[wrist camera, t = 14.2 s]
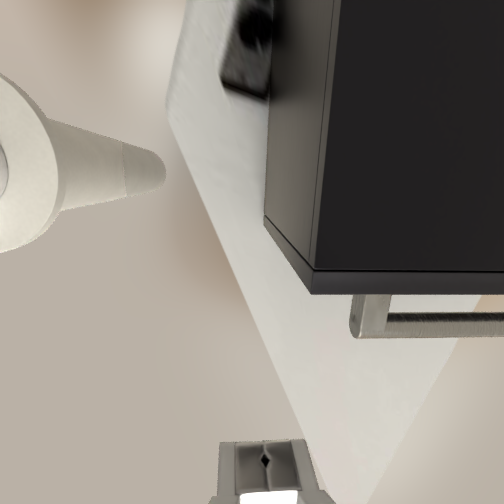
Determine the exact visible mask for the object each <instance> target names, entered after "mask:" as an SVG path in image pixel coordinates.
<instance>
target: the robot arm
mask: <svg viewBox="0 0 504 504" xmlns="http://www.w3.org/2000/svg"><path fill="white" fill-rule="evenodd" d="M7 180H8V166H7V161H6V157H5V154H4V152H3V150H2V147H1V146H0V197H1V196H2V195H3V193H4V191H5V188H6V185H7ZM208 504H336V503H335V502H334V501H333V499H332V498H331V497H330V496H329V495H328V494H327V493H326V492H325V491H324V490H319V486H318V483H317V479H316V476H315V472H314V469H313V465H312V462H311V458H310V454H309V451H308V447H307V444H306V441H305V440H304V439H292V440H289V439H284V440H268V441H267V440H266V441H261V442H260V441H258V442H235V445H234V442H220V446H219V464H218V486H217V496H213V497H212V498H211V500H210V502H209V503H208Z"/></svg>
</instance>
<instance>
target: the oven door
mask: <svg viewBox="0 0 504 504" xmlns="http://www.w3.org/2000/svg"><path fill="white" fill-rule="evenodd" d="M264 226H265V228H266V229H267V231H268V232H269V234H270V235H271V237H272V238H273V240H274V241H275V242H276V244H277V245H278V247H279V248H280V250H281V251H282V253H283V254H284V256H285V257H286V259H287V260H288V262H289V263H290V265H291V266H292V267H293V269H294V270H295V272H296V273H297V275H298V276H299V278H300V279H301V281H302V282H303V284H304V285H305V287H306V288H307V289H308V291H309V292H310V294H312V295H353V298H352V305H351V312H350V319H349V327H350V331H351V334H352V336H353V337H354V338H356V339H370V338H443V337H504V312H388V311H389V306H390V300H391V295H489V294H490V295H504V271H461V270H336V269H314V268H313V267H312V266H311V265H310V264H309V263H308V262H307V260H306V259H305V258H304V257H303V256H302V255H301V254H300V253H299V251H298V250H297V249H296V248H295V247H294V246H293V245H292V244H291V243H290V241H289V240H288V239H287V238H286V237H285V236H284V235H283V234H282V233H281V231H280V230H279V229H278V228H277V227H276V226H275V225H274V224H273V222H272V221H271V220H270V219H269V218H268V217H267V216H266V215H264Z"/></svg>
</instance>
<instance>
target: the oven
mask: <svg viewBox="0 0 504 504" xmlns="http://www.w3.org/2000/svg"><path fill="white" fill-rule="evenodd" d="M264 214H265V215H266V216H267V217H268V218H269V219H270V220H271V221H272V222H273V224H274V225H275V226H276V227H277V228H278V229H279V230H280V231H281V233H282V234H283V235H284V236H285V237H286V238H287V239H288V240H289V241H290V243H291V244H292V245H293V246H294V247H295V248H296V249H297V250H298V251H299V253H300V254H301V255H302V256H303V257H304V258H305V259H306V260H307V262H308V263H309V264H310V265H311V266H312V267H313V268H314V269H336V270H461V271H504V0H274V11H273V32H272V54H271V75H270V97H269V118H268V140H267V161H266V183H265V204H264Z"/></svg>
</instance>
